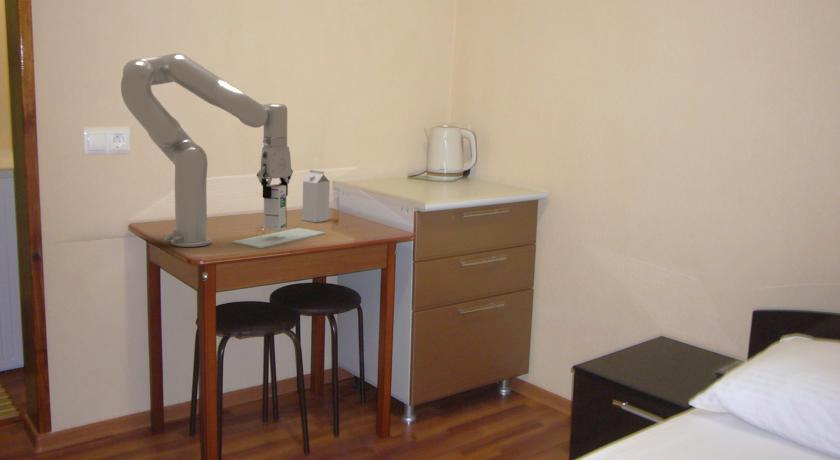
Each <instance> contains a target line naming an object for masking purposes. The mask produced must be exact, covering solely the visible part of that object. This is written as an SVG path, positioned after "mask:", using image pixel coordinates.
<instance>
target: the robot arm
mask: <svg viewBox="0 0 840 460" xmlns="http://www.w3.org/2000/svg"><path fill="white" fill-rule="evenodd" d="M168 83H176V84H177V85H179V86H181V87H182V88H183V89H185V90H187V91H189V92H190V93H192V94H194V95H195V96H196V97H198V98H200V100H203V101H204V102H206V103H208V104H210V105H212V106H215V107H217V108H220V109H221V110H223V111H225V112H226V113H229V114H231V115H232V116H234V117H235V118H237V119H238V120H239V121H240V122H241V123H242V124H243V125H245V126H247V127H251V128H254V129H255V128H261V127H262V126H263V140H262V144H263V147H262V151H261V157H260V169H259V171H258V172H257V173H256V177H257V178H258V181H259V182H260V184H261V186H262V198H263V199H264V198H268V199H271V186H270V185H272V184H271V183H272V180H273V179H279V183H278V184H279V185H286V197H287V196H288V193H289V192H288V189H289V187H288V186H289V183H290V180H291V178H292V176H293V173H294V170H293V169H292V162H291V161H292V160H291V152H290V151H291V150H290V147H289V146H288V107H287V105H285V104H284V103H266V104H265V103H259V102H258V101H257V100H255V99H253V98H252V97H250V96H249V95H247V94H245V93H244V92H243V91H241V90H239V89H238V88H236V87H235V86H233V85H232V84H230V83H229V82H227V81H226V80H225V79H222V78H221V77H219V76H218V75H216V74H215V73H213V72H212V71H210V70H208V69H207V68H205V67H204V66H202V65H201V64H199V63H198V62H196V61H194V59H192V58H190V57H188V56H187V55H185V54H182V53H179V52H177V53H176V52H175V53H170V54H165V55H159V56H152V57H145V58H139V59H138V58H136V59H131V60H129V61H128V62H126V64H124V66H123V69H122V77H121V82H120V92H121V97H122V100H123V102H124V104H125V106H126V108H127V109H128V111H129V112H130V114H131V115H132V116H133V117H134V118H135V119H136V121H138V123H139V124H140V125H141V126H142V128H143V129H144V130H145V131H146V132H147V133H148V136H149V138H150V139H151V140H152V142H153V143H154V144H155V145H156V146H157V147H158V148H159V149H160V151H161V152H163V154H164V155H165V156H166V157H167V159H169V160H170V161H171V163H173V165H174V207H175V208H174V211H175V214H174V219H175V229H172V232H171V233H169V234H164V235H163V237H162V239H163V241H164V242H169V241H170V244H171V245H172V246H175V247H181V248H183V247H184V248H186V247H187V248H196V247H197V248H198V247H206V246H209V245H212V243H213V239H212V237H209V236H208V219H207V218H208V217H207V216H208V213H207V212H208V211H207V210H208V209H207V207H208V206H207V203H208V202H207V196H208V195H207V178H208V177H207V176H208V167H209V166H208V164H209V162H208V157H207V153H206V151H205V150H204V149H203V147H201V146H200V145H199V144H197V143H196V142H195V141H194V140H193V139H192V138H191V136H190V135H189V134H188V133H187V132H186V131H185V130H184V129H183V127H182V126H181V124H180V122H179V121H178V120H177V119H176V118H175V117H173V115H171V113H170V112H169V111H168V110H167V109H166V108H165V107H164V106H163V105H162V104H161V102H160V101H159V99H158V98H157V97H156V96H155V95H154V93H153V90H152V86H157V85H163V84H165V85H166V84H168Z"/></svg>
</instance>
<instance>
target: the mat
mask: <svg viewBox="0 0 840 460" xmlns="http://www.w3.org/2000/svg"><path fill="white" fill-rule="evenodd" d="M325 234H326V232H325V231H318V230H313V229H307V228H301V227H297V228H296V227H295V228H291V229H286V230H281V231H276V232H272V233H267V234H262V235H257V236H252V237H247V238H243V239H238V240H237V239H236V240H232V244H235V245H240V246H246V247H250V248H255V249H265V247H266V248H270V247H274V246H278V245H282V244H287V243H292V242H297V241H300V240H305V239H310V238H314V237H318V236H323V235H325Z"/></svg>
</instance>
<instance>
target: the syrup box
mask: <svg viewBox="0 0 840 460" xmlns="http://www.w3.org/2000/svg"><path fill="white" fill-rule="evenodd" d="M270 186H271V199H268V198H263V228H264V230H266V231H276V232H281V231H283V230H284V229H287V227H288V226H287V225H288V224H287V222H288V221H287V210H288V209H287V196H286V185H279V183H278V184H270Z"/></svg>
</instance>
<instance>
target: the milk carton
mask: <svg viewBox="0 0 840 460" xmlns="http://www.w3.org/2000/svg"><path fill="white" fill-rule="evenodd" d="M324 173H325V172H324V171H322V170H313V169H309V173H308V174H307V175H306V177H305V178H304V179H303V181H302V220H303V221H306V222H312V223H321V222H327V221H329V220H330V187H331V186H330V185H331V183H330V182H331V181H330V180H329V179H328V178H327V176H325V174H324Z"/></svg>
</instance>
